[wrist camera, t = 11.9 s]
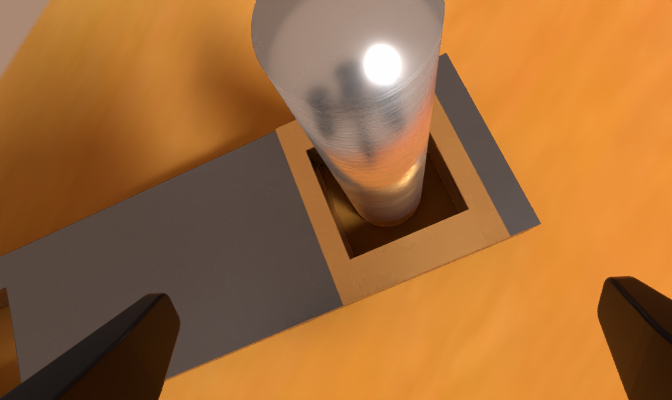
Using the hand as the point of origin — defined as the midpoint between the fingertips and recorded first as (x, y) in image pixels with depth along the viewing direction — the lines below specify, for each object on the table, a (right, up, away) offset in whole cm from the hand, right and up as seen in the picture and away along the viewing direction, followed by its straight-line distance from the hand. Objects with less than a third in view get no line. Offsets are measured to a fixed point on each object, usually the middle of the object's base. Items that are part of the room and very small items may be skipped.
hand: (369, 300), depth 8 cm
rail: (-8, -2, +13) cm, 16 cm away
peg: (+2, +2, +13) cm, 13 cm away
